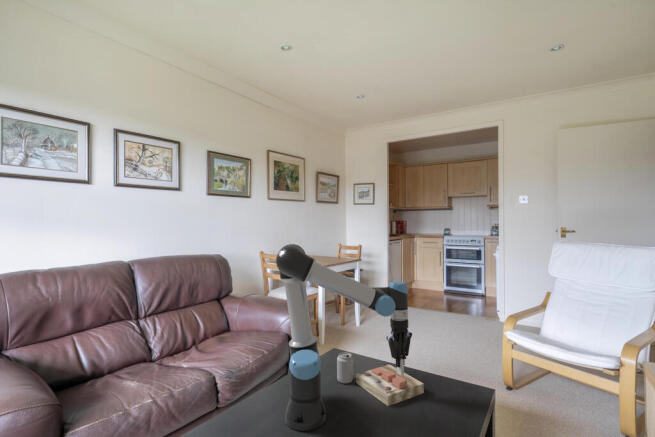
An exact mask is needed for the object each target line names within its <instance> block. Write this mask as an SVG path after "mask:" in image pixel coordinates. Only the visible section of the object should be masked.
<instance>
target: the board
mask: <svg viewBox="0 0 655 437" xmlns="http://www.w3.org/2000/svg"><path fill="white" fill-rule="evenodd" d="M379 367H380V368H381V369H383V370H385V371H388V370H390V371H392V372H394V373H395V374H396V377H399V376H400V377H402V378H404V379H406V380H407V387H406V388H403V389H400V390H399V389H397V388H396V387H394V386H393V385H392V382H389V383H388V382H386V381H385V380H383V379H382V375H380V376H377V375H375V374H374V373H372V369H370V370H366V371H362V372H358V373H356V374H355V379H356V380H355V382H356V384H357V385H358V386H360V387H361V388H362V389H364V390H365V391H366V392H368V393H369V394H370V395H371V396H374V397H375V398H376V399H378V400H379V401H380V402H382V403H383V404H385V406H387V407H390V406H392V405H395V404H398V403H401V402H404V401H406V400H408V399H411V398H413V397H416V396H419V395H422V394H424V393H425V392H424V390H425V384H424V382H421V381H420V380H418V379H416V378H414V377H413V376H411V375H409V374H407V373H406V372H404V375H402V376H401V375H399V374H398V373H397V367H395V366H393V365H391V364H386V365H383V366H379Z"/></svg>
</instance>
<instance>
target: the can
mask: <svg viewBox="0 0 655 437" xmlns="http://www.w3.org/2000/svg"><path fill="white" fill-rule="evenodd" d="M336 372H337V373H336V380H337V381H338V382H339V383H340V384H344V385H345V384H350V383H352V382H353V381H354V357H353V355H352V353H350V352H341V353H339V354H338V356H337V358H336Z"/></svg>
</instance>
